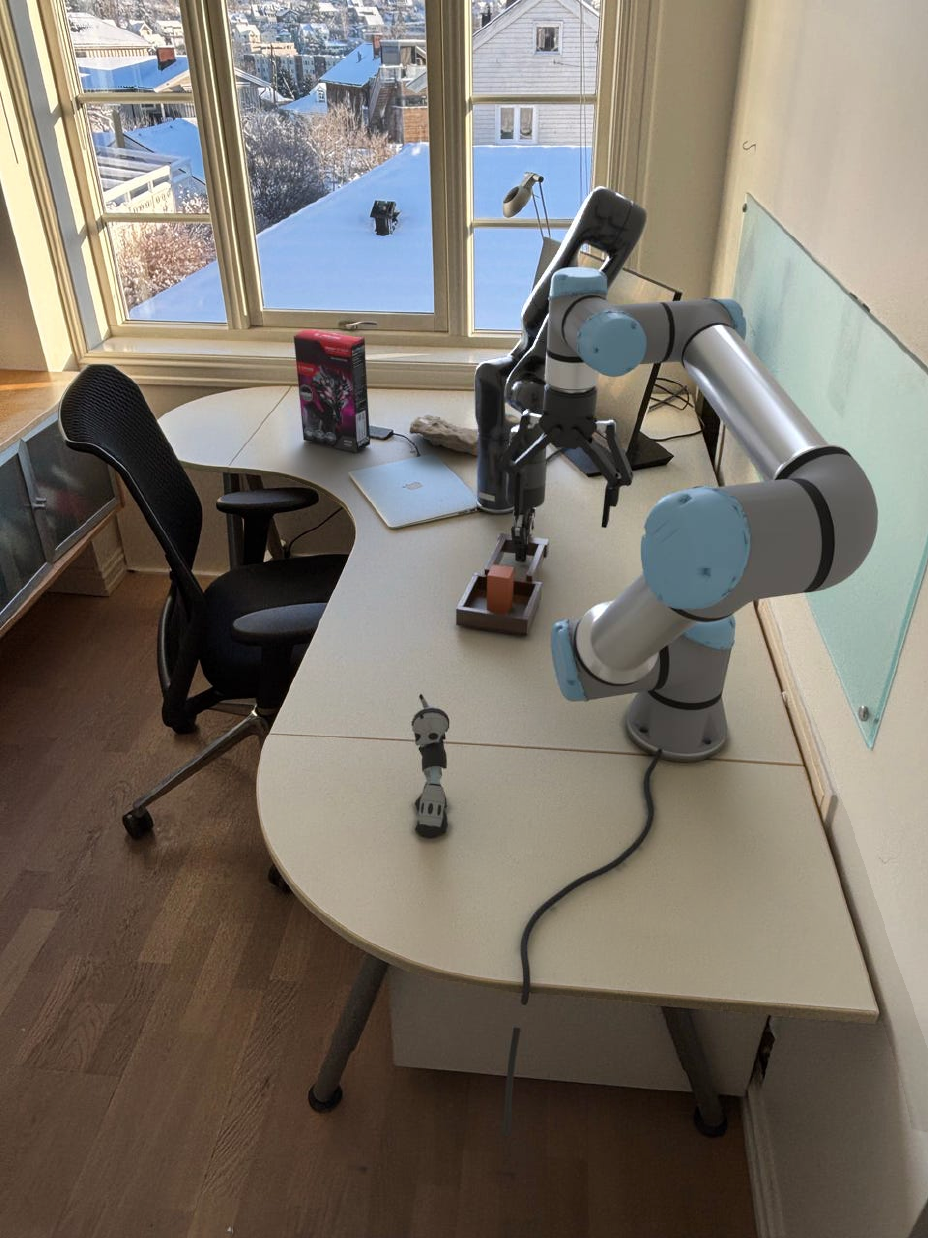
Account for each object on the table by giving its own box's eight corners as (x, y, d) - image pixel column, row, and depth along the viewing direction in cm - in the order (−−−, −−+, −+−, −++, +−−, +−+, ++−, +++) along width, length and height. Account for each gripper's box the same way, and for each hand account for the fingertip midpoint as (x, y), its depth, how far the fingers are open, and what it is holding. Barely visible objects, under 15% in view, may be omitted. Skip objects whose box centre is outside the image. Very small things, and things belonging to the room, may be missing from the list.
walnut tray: (526, 636, 163) (528, 615, 160) (456, 625, 166) (456, 604, 163) (555, 559, 185) (556, 540, 183) (492, 551, 188) (493, 531, 185)
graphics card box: (301, 441, 235) (290, 334, 220) (317, 432, 240) (307, 326, 225) (357, 454, 229) (350, 345, 213) (372, 444, 234) (367, 337, 218)
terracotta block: (507, 616, 167) (509, 578, 163) (486, 612, 168) (487, 575, 163) (512, 604, 170) (514, 567, 166) (491, 601, 171) (492, 564, 167)
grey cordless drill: (452, 871, 119) (452, 756, 108) (414, 872, 119) (410, 757, 108) (447, 767, 136) (446, 657, 124) (413, 768, 135) (410, 658, 124)
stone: (393, 439, 229) (398, 415, 226) (412, 430, 242) (417, 408, 240) (473, 463, 225) (479, 439, 223) (488, 453, 238) (493, 431, 236)
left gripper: (538, 496, 169) (533, 577, 179) (552, 466, 181) (547, 543, 190) (498, 491, 171) (496, 571, 181) (514, 461, 182) (511, 538, 192)
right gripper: (662, 384, 131) (645, 517, 143) (492, 367, 136) (488, 497, 148) (657, 402, 125) (639, 540, 137) (479, 384, 130) (476, 518, 142)
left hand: (522, 556), depth 185 cm, fingers closed on walnut tray, 2 cm apart
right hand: (561, 518), depth 142 cm, fingers open, 13 cm apart
